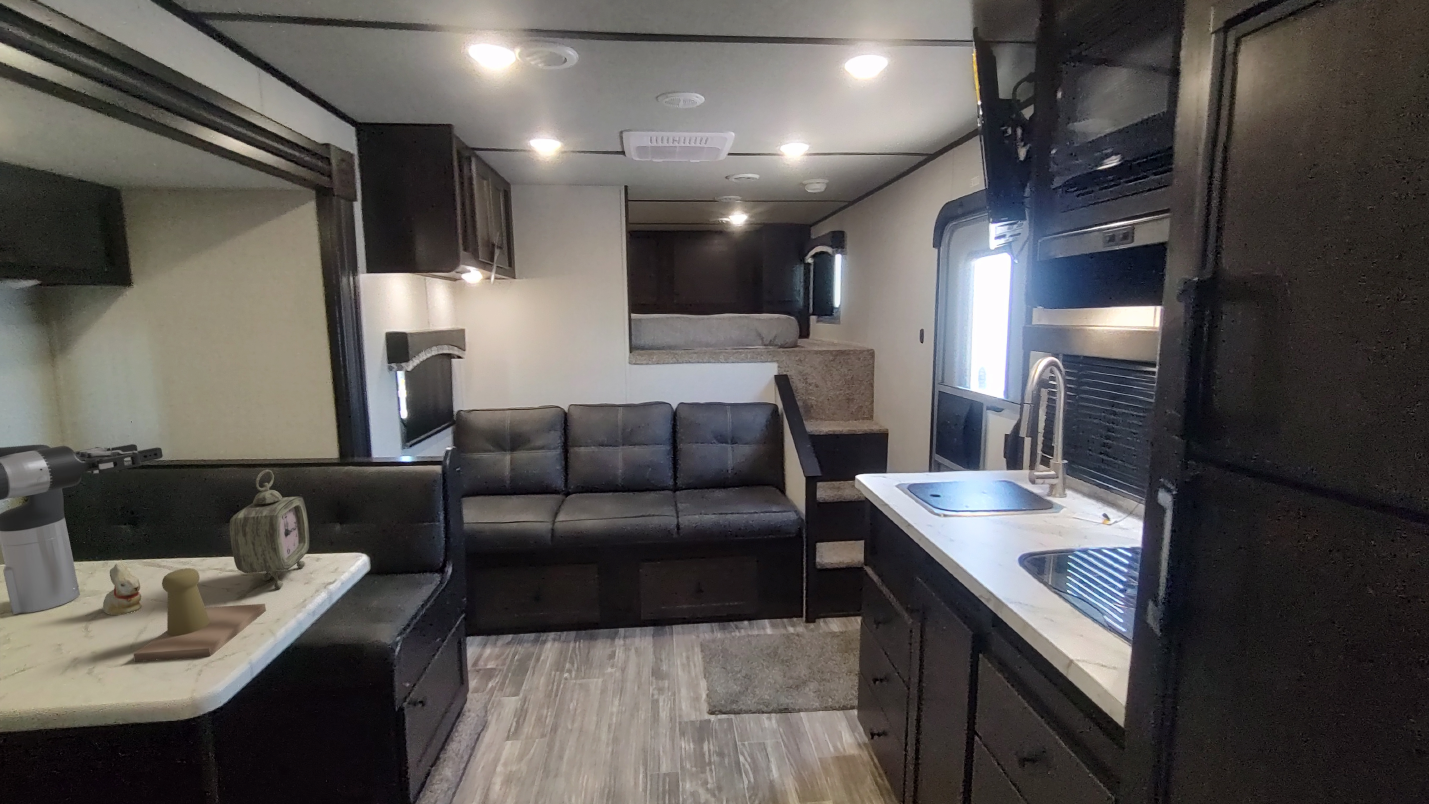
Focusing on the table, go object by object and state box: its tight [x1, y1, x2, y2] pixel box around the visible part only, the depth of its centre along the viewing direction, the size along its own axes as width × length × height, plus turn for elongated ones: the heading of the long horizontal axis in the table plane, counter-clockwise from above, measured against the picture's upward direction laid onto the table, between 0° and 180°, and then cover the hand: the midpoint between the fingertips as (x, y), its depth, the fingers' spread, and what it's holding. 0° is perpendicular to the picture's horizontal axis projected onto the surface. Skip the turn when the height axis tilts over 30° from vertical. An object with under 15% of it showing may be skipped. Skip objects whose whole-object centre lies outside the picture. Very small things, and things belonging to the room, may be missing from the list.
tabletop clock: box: [229, 469, 310, 590], centre depth 134 cm, size 14×9×25 cm, turn 12°
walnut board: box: [133, 603, 267, 662], centre depth 114 cm, size 16×12×2 cm
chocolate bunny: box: [102, 562, 142, 616], centre depth 123 cm, size 6×8×10 cm
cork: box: [161, 567, 210, 636], centre depth 113 cm, size 6×6×11 cm
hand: (148, 450), depth 122 cm, fingers open, 8 cm apart
